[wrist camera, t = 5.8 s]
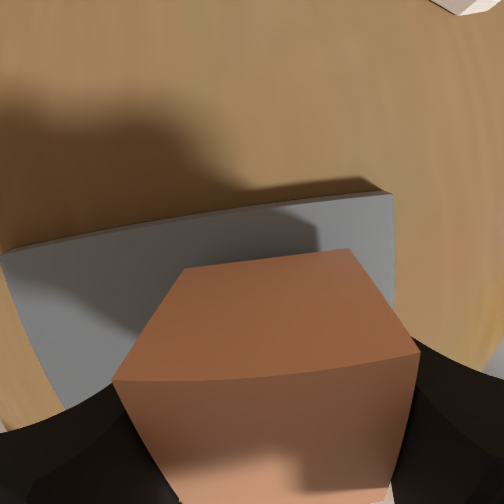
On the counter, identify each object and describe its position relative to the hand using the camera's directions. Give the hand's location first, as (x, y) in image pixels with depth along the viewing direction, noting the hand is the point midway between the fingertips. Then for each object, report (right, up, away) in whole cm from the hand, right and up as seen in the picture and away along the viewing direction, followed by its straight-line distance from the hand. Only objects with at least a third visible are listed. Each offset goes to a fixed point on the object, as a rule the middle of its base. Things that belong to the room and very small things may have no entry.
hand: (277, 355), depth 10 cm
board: (-3, -2, +4) cm, 6 cm away
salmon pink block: (0, +1, +1) cm, 1 cm away
